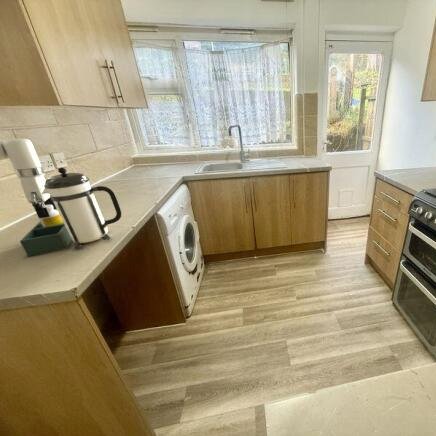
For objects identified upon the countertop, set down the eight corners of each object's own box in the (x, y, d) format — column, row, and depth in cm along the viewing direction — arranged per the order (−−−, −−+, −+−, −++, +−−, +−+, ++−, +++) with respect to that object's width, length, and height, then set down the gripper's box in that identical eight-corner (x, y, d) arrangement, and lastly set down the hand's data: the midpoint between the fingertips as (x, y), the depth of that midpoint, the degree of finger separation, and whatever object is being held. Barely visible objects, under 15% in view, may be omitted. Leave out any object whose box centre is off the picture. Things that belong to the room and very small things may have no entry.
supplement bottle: (72, 231, 106) (59, 204, 101) (54, 238, 101) (40, 210, 95) (62, 229, 108) (49, 203, 103) (44, 236, 103) (29, 208, 97)
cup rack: (27, 256, 90) (19, 241, 87) (47, 233, 107) (40, 220, 104) (66, 248, 95) (59, 233, 92) (78, 228, 112) (73, 215, 109)
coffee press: (94, 250, 92) (59, 172, 80) (60, 248, 95) (20, 172, 83) (129, 229, 108) (104, 161, 95) (98, 228, 111) (70, 162, 98)
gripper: (26, 169, 99) (43, 208, 106) (6, 178, 85) (28, 222, 92) (50, 167, 102) (65, 205, 109) (35, 175, 88) (53, 218, 95)
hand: (48, 213), depth 101 cm, fingers open, 9 cm apart
